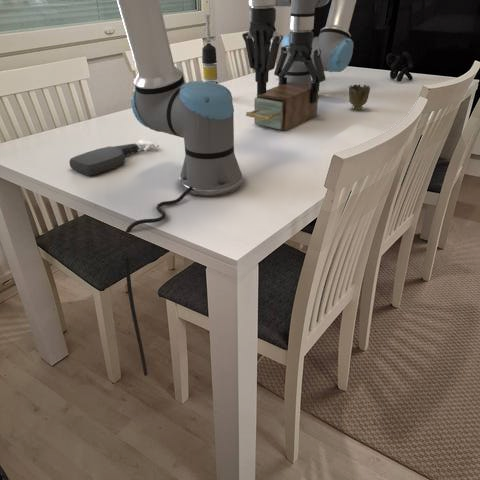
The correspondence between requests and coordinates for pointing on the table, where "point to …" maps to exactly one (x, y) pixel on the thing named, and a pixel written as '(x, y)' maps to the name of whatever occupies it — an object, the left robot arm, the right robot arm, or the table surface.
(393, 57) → the squiggle
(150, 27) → the left robot arm
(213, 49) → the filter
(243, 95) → the table surface
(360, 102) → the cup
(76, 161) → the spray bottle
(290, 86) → the cabinet
